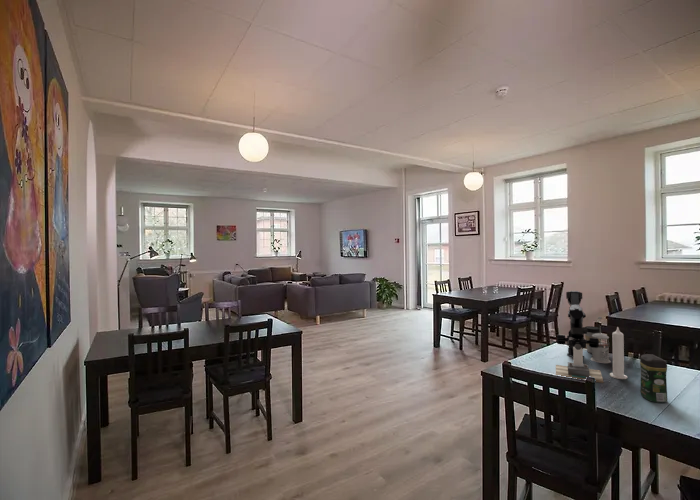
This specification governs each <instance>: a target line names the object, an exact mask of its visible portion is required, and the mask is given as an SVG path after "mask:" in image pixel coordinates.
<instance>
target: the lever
mask: <svg viewBox="0 0 700 500" xmlns="http://www.w3.org/2000/svg"><path fill="white" fill-rule="evenodd" d="M583 350H584V348H581V345H580V344H576V345H575V347H573V357H572V359H573V360H572V361H573V362H572V363H573V364H574V365H579V366H583V364H584V363H583V361H584V359H583V358H584V357H583V356H584V351H583Z"/></svg>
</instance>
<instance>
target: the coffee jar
mask: <svg viewBox="0 0 700 500" xmlns="http://www.w3.org/2000/svg"><path fill="white" fill-rule="evenodd" d="M639 364H640V365H639V366H640V387H639V388H640V390H639V391H640V395H641V396H642V397H643V398H644V399H646V400H647V401H650V402H654V403H659V404H663V403H667V402H668V387H667V370H668V364H667V361H666V360H665V359H663V358H661V357H659V356H657V355H655V354H652V353H651V354H647V353H643V354H642V355H640V359H639Z"/></svg>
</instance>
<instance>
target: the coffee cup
mask: <svg viewBox="0 0 700 500" xmlns="http://www.w3.org/2000/svg"><path fill="white" fill-rule="evenodd" d="M585 327H586V328H587V334H584V339H585V340H589V338H590V337H591V338H594V337H592V335H593V334H598V333H601V334H602V332H603V331H602V329H601V327H597V326H591V325H590V326H585ZM599 342H600V339H599ZM598 348H599V347H598ZM586 351H587V353H589V354H592V347H590V346H589V344H586Z"/></svg>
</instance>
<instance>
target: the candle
mask: <svg viewBox="0 0 700 500" xmlns="http://www.w3.org/2000/svg"><path fill="white" fill-rule="evenodd" d="M611 335H612V372H610V373H609V377H611V378H613V379H618V380H627V379H628V376H627V375H625V352H624V351H625V350H624V349H625V347H624V346H625V345H624V344H625V340H624V338H625V337H624V336H625V335H624V333H623V332H621V330H620V328H619V326H617V327H616V330H615V331H613V332H612V334H611Z"/></svg>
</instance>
